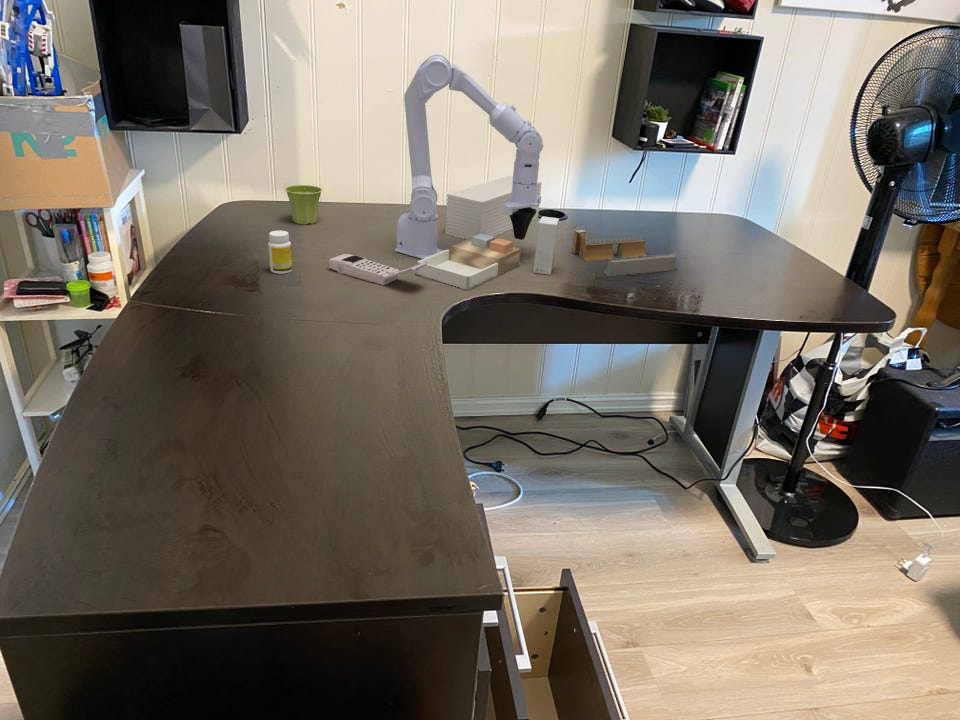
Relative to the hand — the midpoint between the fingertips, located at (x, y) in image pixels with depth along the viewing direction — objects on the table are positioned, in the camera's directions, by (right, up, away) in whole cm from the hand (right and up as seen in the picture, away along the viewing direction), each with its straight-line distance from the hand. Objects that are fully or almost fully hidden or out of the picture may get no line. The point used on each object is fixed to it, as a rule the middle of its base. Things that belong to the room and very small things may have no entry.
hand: (519, 238), depth 170 cm
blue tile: (-9, -2, -4) cm, 10 cm away
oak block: (-8, -7, -3) cm, 11 cm away
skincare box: (+5, -8, -4) cm, 11 cm away
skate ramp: (+24, -4, +9) cm, 26 cm away
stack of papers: (-6, +8, +26) cm, 28 cm away
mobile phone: (-33, -12, -16) cm, 38 cm away
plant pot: (-56, +7, +17) cm, 59 cm away
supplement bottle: (-53, -10, -16) cm, 56 cm away
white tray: (-15, -10, -12) cm, 21 cm away
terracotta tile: (-5, -4, -6) cm, 8 cm away
